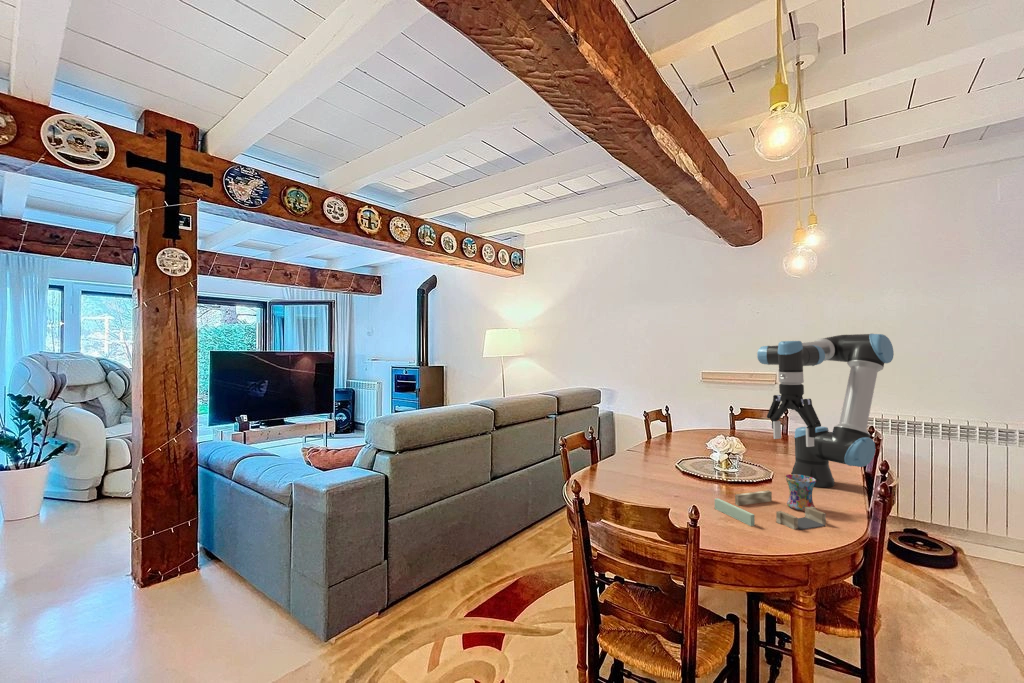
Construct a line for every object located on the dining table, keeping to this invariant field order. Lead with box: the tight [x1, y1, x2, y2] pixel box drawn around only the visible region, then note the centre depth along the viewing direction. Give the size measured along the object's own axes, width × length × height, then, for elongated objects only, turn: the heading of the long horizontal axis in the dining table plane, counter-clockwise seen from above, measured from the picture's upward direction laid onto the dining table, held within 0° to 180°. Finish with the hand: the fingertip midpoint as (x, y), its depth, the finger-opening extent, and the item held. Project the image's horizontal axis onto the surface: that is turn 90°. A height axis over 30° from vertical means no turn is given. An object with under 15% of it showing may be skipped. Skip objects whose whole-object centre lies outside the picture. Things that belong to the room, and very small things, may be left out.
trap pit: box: [797, 516, 826, 531], centre depth 142 cm, size 10×7×1 cm
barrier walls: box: [734, 489, 827, 530], centre depth 151 cm, size 15×24×4 cm, turn 16°
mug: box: [784, 473, 816, 512], centre depth 156 cm, size 12×9×11 cm
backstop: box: [714, 497, 756, 527], centre depth 148 cm, size 2×16×4 cm, turn 16°
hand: (793, 442), depth 159 cm, fingers open, 13 cm apart
